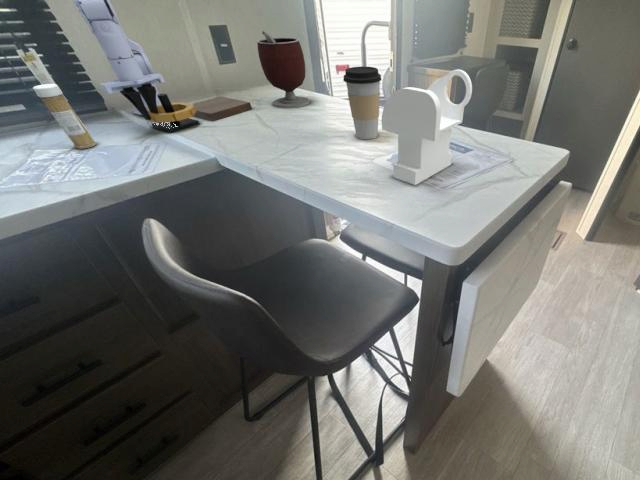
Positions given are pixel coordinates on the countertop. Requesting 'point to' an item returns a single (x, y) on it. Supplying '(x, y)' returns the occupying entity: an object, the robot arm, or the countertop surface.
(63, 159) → the countertop surface
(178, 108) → the orange ring
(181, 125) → the peg stand
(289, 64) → the mate gourd
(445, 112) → the tape dispenser
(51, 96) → the sprinkles bottle
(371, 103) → the coffee cup
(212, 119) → the coaster
